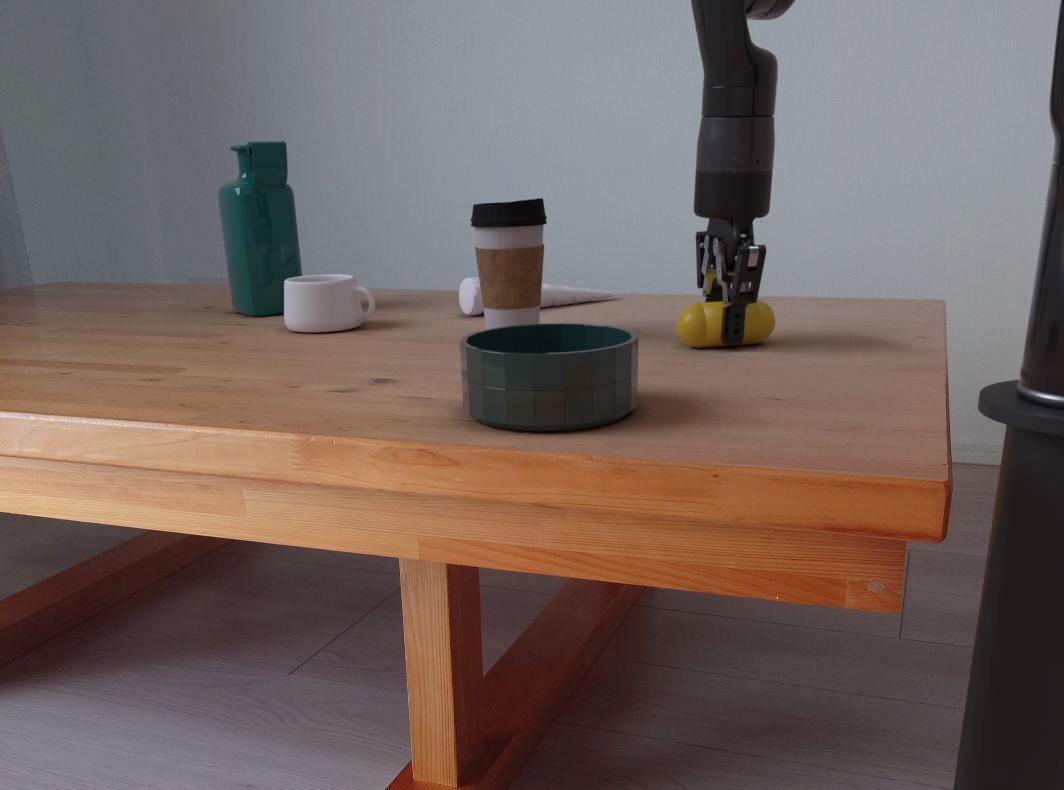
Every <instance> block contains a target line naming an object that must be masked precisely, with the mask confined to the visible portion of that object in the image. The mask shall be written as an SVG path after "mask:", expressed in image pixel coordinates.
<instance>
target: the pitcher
mask: <svg viewBox="0 0 1064 790" xmlns="http://www.w3.org/2000/svg"><path fill="white" fill-rule="evenodd" d="M287 148H288V147H287V143H286V141H285V140H269V141H267V140H266V141H264V140H263V141H247V143H246V144H234V145H231V146H230V147H229V151H230V152H233V153H236V156H237V157H236V159H237V166H238V177H237V178H236V179H235V180H233V181H230V182H229V181H228V182H226V183H224V184H222V185H221V186H220V187H219V189H218V192H217V199H218V207H219V214H220V222H221V230H222V231H221V232H222V237H223V244H224V254H225V261H226V268H227V275H228V276H227V277H228V283H229V290H230V298H231V299H230V300H231V307H232V310H233V312H234V313H237V314H242V315H245V316H251V317H269V316H277V315H284V281H285V280H286V279H289V278H293V277H299V276H303V267H302V258H301V250H300V240H299V231H298V221H297V210H296V202H295V194H294V191H293V188H292V187H291V185H290V184H289V183H288V175H289V173H288V171H289V170H288V151H287Z"/></svg>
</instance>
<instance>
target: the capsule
mask: <svg viewBox="0 0 1064 790" xmlns="http://www.w3.org/2000/svg"><path fill="white" fill-rule="evenodd" d="M723 307H724V305H723V301H722V302H705V301H704V302H695V303H692V304H689V305H688V306H686V307H684V308H683V310H681V312H680V313H679V315H678V316H677V320H676V327H675V328H676V333H677V336H678V337H679V339H680V340H681V341H682V342H683V344H684V345H687V346H688V347H691V348H695V349H701V348H714V347H715V348H716V347H730V346H747V345H755V344H756V345H757V344H760V343H763V342H764V341H766V340H767V339H768V338H769V337H770V336H771V335H772V333H773V332H774V329H775V327H776V316H775V312H774V310H773V309H772V307H771V306H770V305H769V304H768V303H766V302H765V301H763V300H759V299H757V302H756V303H750V304H749V306H748V307H746V312H745V325H744V339H743V341H742V343H740V344H725V343H723V342H722V341H721V330H722V313H723Z"/></svg>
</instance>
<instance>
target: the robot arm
mask: <svg viewBox="0 0 1064 790" xmlns="http://www.w3.org/2000/svg"><path fill="white" fill-rule="evenodd" d="M795 2H796V0H690V6H691V11H692V17H693V21H694V27H695V32H696V38H697V44H698V50H699V55H700V59H701V65H702V71H703V79H702V95H701V112H700V113H701V114H700V116H701V117H700V125H699V130H698V136H697V141H696V158H695V176H694V194H693V195H694V196H693V214H694V215H695V216H696V217H699V218H704V219H708V224H707V228H706V230H703V231H697V232H696V233H695V258H696V286H697V289H699V290H700V289H702V290H701V293H702V297H703V298H705V299H704V303H705V302H722V301H723V305H724V307H723V313H722V330H721V341H722V342H723V343H725V344H740V343H742V341H743V339H744V325H745V312H746V307H748V306H749V304H750V303H756V302H757V300H758V297H759V293H760V288H761V287H760V286H761V282H762V277H763V272H764V266H765V262H766V256H767V246H766V244H755V234H754V224H753V223H754V221H755V220H756V219H761V218H764V217H766V216H768V214H769V213H770V211H771V209H770V208H771V198H772V197H771V196H772V185H773V183H772V182H773V173H774V172H773V171H774V160H775V149H776V133H775V129H776V128H775V115H776V113H775V112H776V101H777V91H778V90H777V89H778V87H777V86H778V79H779V78H778V76H779V63H778V59H777V56H776V55H775V54H774V53H773V52H772V51H770V50H768V49H765V48H763V47H760V46H758V45H757V44H755V43H754V42H753V41H752V37H751V33H750V28H749V25H748V21H772V20H776V19H779V18H780V17H782V16H784V14H786V13H787V12H788V11H789V10H790V8H792V6H793V5H794V4H795ZM1057 17H1058V18H1057V25H1056V32H1055V33H1056V34H1055V40H1054V41H1055V43H1054V51H1053V52H1054V53H1053V62H1052V70H1051V81H1050V88H1049V90H1050V91H1049V103H1048V104H1049V108H1048V110H1049V111H1048V113H1049V114H1048V115H1049V121H1050V126H1051V130H1052V133H1053V140H1054V141H1053V142H1054V143H1053V153H1052V159H1051V160H1052V162H1053V163H1052V164H1051V166H1050V172H1049V179H1048V187H1047V193H1046V200H1045V207H1044V213H1043V221H1042V226H1041V233H1040V241H1039V248H1038V252H1037V253H1038V254H1037V261H1036V267H1035V274H1034V282H1033V286H1032V287H1033V288H1032V295H1031V300H1030V307H1029V308H1030V309H1029V315H1028V321H1027V328H1026V334H1025V340H1024V349H1023V356H1022V363H1021V366H1020V372H1019V379H1017V380H1018V385H1017V392H1016V395H1017V396H1018V397H1019V398H1020V399H1022V400H1024V401H1027V402H1030V403H1032V404H1036V405H1040V406H1044V407H1049V408H1054V409H1061V410H1064V0H1060V3H1059V9H1058V16H1057Z"/></svg>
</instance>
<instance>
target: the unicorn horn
mask: <svg viewBox="0 0 1064 790" xmlns="http://www.w3.org/2000/svg"><path fill="white" fill-rule="evenodd" d="M616 295H617V294H616V293H615V292H612V291H607V290H602V289H601V290H599V289H594V288H586V287H585V288H584V287H575V286H568V285H567V286H566V285H559V284H558V285H557V284H548V283H542V289H541V304H540V309H542V308H550V307H560V306H567V305H572V304H573V303H574V304H580V303H587V302H593V301H594V300H596V301H600V300H604V299H609V298H613V297H615V296H616ZM458 300H459V301H458V302H459V306H460V309H461V311H462V312H463V313H464V314H465V315H466V316H471V317H473V316H480V315H482V314H483V315H484V307H483V303H482V295H481V288H480V281H479V277H472V276H471V277H466V278H465V279H463V280H462V281H461V284H460V285H459V291H458Z"/></svg>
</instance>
